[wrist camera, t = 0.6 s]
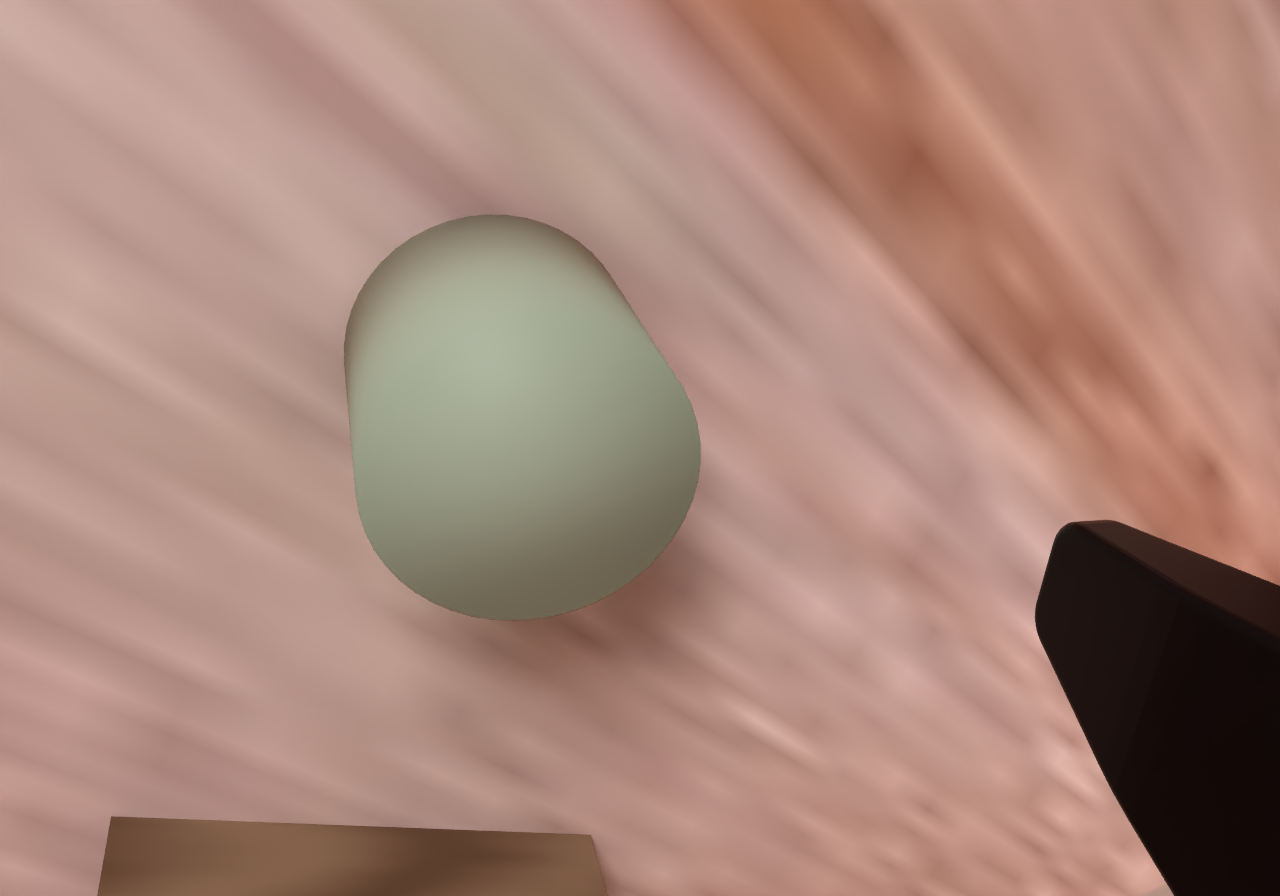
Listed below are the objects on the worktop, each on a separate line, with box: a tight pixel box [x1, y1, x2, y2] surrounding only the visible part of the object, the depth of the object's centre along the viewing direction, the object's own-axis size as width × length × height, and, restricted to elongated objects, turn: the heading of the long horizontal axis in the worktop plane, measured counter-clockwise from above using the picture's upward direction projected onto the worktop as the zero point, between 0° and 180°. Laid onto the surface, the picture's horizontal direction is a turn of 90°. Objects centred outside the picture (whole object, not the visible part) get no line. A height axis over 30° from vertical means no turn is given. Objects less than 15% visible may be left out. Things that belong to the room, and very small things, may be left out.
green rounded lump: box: [344, 215, 700, 621], centre depth 19 cm, size 5×5×4 cm
